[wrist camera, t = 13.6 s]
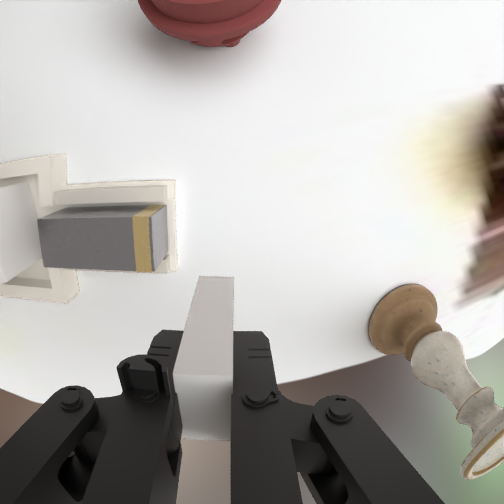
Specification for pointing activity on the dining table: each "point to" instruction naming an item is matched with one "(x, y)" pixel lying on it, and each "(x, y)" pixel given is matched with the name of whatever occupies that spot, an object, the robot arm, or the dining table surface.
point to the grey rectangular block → (105, 237)
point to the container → (17, 231)
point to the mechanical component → (208, 18)
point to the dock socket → (78, 195)
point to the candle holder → (440, 369)
